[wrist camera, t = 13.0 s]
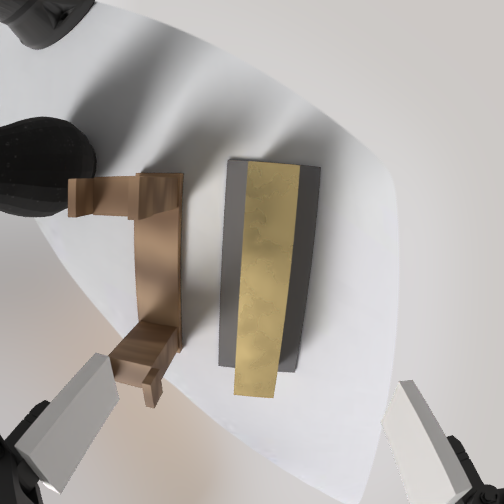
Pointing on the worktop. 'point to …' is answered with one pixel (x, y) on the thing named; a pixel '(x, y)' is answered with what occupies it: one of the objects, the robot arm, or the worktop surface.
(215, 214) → the worktop surface
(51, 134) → the bottle
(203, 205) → the worktop surface
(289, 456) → the worktop surface
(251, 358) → the rail
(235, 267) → the mat
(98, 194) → the rack
